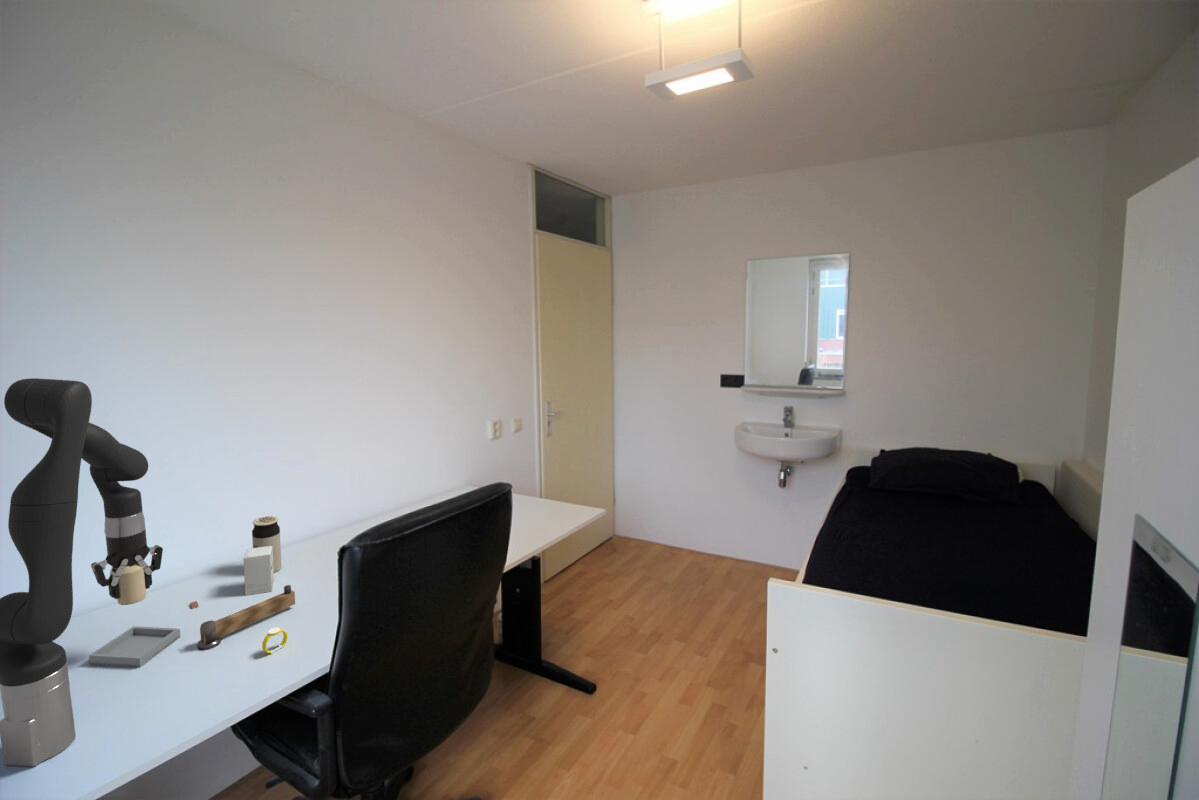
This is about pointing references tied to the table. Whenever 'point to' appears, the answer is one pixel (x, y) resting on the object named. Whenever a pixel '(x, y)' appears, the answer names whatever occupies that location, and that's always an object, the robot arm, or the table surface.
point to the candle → (131, 585)
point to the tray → (135, 646)
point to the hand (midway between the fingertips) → (131, 592)
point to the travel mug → (268, 537)
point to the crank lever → (246, 616)
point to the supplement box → (258, 570)
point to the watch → (271, 633)
